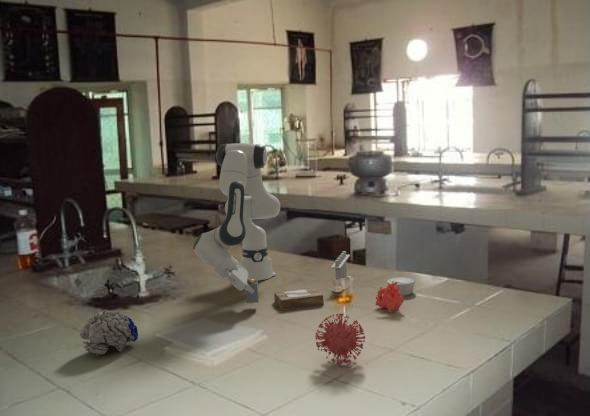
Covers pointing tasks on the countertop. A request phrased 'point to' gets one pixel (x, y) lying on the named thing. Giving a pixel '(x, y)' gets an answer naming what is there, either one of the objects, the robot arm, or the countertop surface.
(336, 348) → the virus model
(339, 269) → the test tube rack
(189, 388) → the countertop surface
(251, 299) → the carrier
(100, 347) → the educational model
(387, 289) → the protein model
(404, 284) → the ramekin
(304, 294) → the dock
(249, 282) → the ball
